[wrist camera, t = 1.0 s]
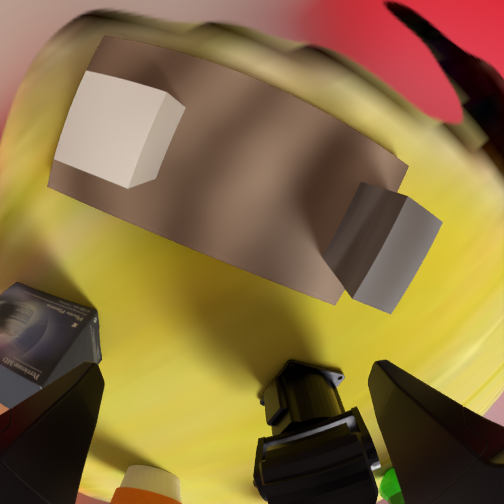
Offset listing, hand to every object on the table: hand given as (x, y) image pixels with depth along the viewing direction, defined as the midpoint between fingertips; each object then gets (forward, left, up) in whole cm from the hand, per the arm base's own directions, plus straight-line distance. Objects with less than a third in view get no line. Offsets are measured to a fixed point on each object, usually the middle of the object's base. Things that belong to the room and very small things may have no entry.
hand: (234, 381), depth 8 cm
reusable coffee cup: (-3, +42, -14) cm, 44 cm away
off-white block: (+9, -5, -12) cm, 16 cm away
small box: (+13, +14, -14) cm, 24 cm away
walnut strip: (+3, -5, -13) cm, 14 cm away
